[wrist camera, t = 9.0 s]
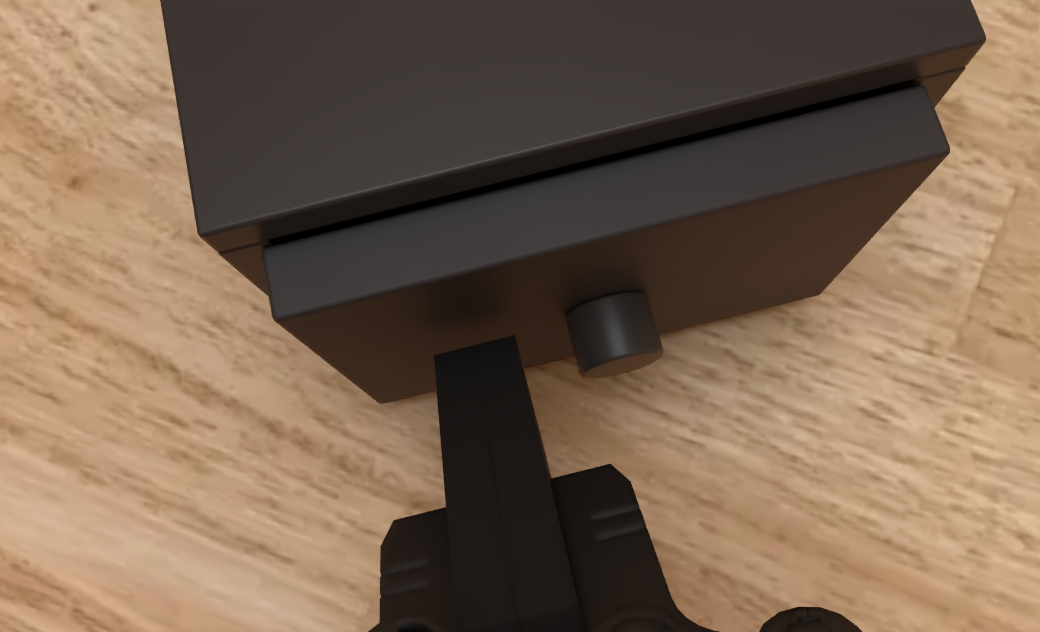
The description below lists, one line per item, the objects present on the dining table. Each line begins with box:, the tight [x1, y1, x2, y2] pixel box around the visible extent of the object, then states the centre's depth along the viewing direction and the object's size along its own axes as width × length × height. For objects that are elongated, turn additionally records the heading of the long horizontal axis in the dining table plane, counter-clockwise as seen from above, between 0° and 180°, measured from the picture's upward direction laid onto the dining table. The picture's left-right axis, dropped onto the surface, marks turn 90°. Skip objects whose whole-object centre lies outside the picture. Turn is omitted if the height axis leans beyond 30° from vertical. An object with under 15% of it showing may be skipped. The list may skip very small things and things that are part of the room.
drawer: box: [261, 85, 950, 404], centre depth 19 cm, size 14×10×8 cm
